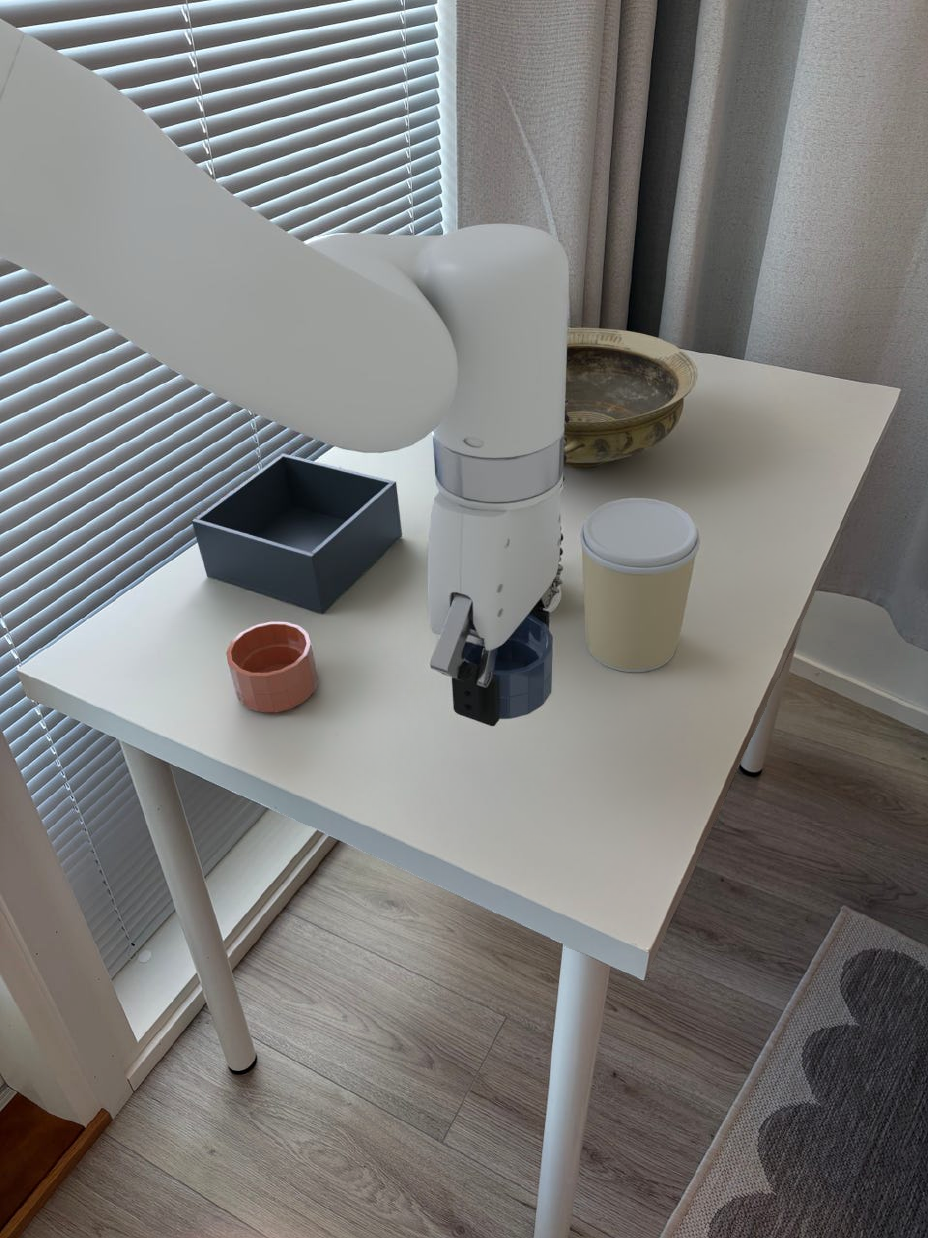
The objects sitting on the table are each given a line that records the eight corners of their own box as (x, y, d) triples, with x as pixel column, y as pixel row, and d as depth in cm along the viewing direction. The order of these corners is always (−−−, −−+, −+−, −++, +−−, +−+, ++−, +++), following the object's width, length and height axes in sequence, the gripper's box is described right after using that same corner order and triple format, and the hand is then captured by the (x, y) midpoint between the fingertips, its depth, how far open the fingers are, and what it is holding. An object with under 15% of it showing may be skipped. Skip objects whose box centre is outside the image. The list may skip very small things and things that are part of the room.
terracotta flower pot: (242, 725, 77) (231, 684, 74) (233, 672, 82) (222, 632, 79) (325, 705, 78) (317, 664, 75) (311, 654, 83) (303, 614, 80)
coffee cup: (705, 633, 83) (721, 516, 75) (654, 695, 77) (666, 575, 69) (611, 597, 87) (617, 484, 80) (556, 653, 82) (557, 537, 74)
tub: (322, 614, 88) (311, 556, 83) (206, 576, 93) (191, 520, 89) (402, 536, 97) (396, 481, 93) (292, 506, 103) (282, 453, 98)
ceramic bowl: (653, 538, 94) (660, 449, 88) (433, 499, 102) (426, 415, 96) (712, 406, 115) (722, 326, 109) (527, 382, 123) (526, 306, 117)
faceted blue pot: (470, 734, 63) (468, 684, 60) (442, 669, 68) (439, 621, 66) (566, 710, 65) (568, 660, 62) (531, 649, 70) (532, 600, 67)
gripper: (508, 385, 62) (510, 600, 73) (361, 513, 51) (390, 746, 62) (616, 406, 59) (601, 627, 70) (485, 548, 48) (492, 786, 59)
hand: (502, 681), depth 66 cm, fingers closed on faceted blue pot, 6 cm apart
